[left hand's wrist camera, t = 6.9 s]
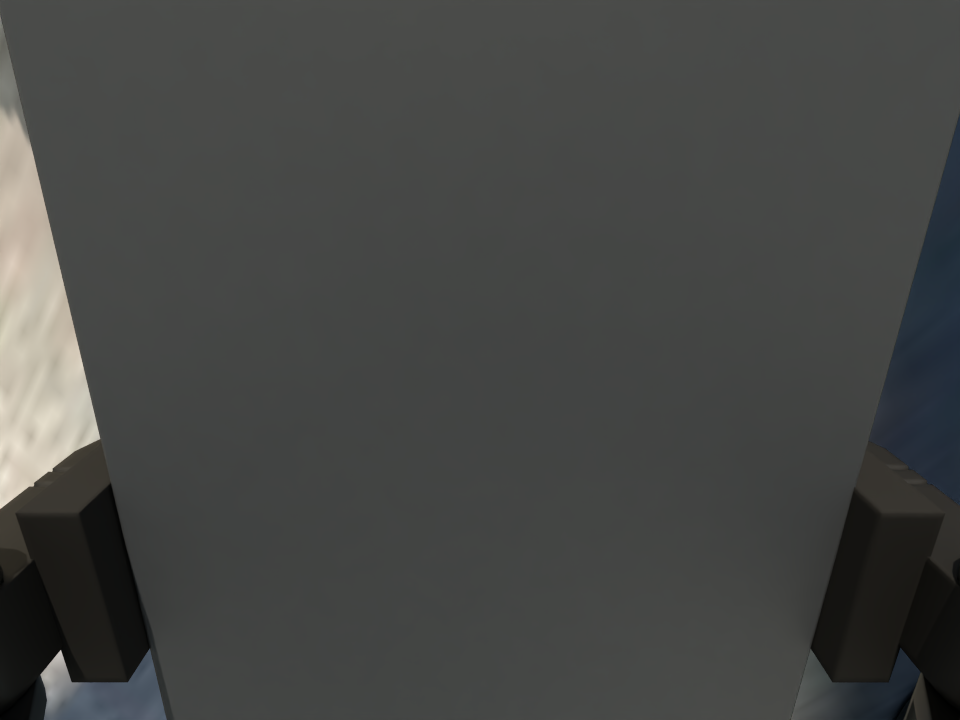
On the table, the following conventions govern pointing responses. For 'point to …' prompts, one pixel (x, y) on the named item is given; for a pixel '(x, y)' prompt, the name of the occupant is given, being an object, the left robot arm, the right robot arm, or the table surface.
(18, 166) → the table surface
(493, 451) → the thick board
